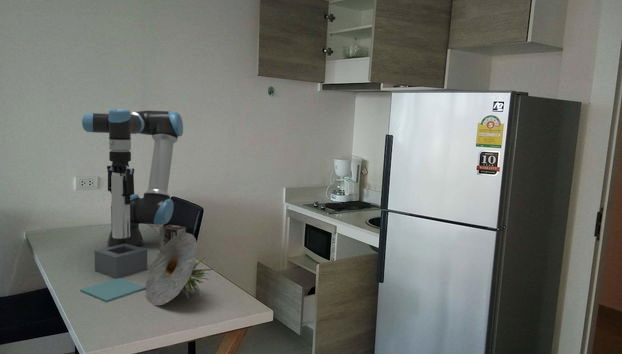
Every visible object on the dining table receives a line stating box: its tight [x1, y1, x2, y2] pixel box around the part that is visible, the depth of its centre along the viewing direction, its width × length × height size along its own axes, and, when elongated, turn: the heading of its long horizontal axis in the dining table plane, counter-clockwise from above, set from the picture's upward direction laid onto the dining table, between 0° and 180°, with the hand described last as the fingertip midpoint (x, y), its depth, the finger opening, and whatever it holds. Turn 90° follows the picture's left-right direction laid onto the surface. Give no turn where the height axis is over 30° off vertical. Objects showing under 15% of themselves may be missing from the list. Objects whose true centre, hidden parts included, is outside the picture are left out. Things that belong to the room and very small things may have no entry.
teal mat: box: [80, 277, 146, 303], centre depth 159 cm, size 15×15×1 cm
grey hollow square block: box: [94, 244, 148, 279], centre depth 179 cm, size 14×14×8 cm
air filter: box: [111, 172, 131, 239], centre depth 177 cm, size 6×6×25 cm
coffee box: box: [159, 224, 188, 252], centre depth 186 cm, size 9×6×16 cm
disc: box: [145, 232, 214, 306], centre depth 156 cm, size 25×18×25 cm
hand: (121, 211), depth 177 cm, fingers closed on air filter, 6 cm apart
